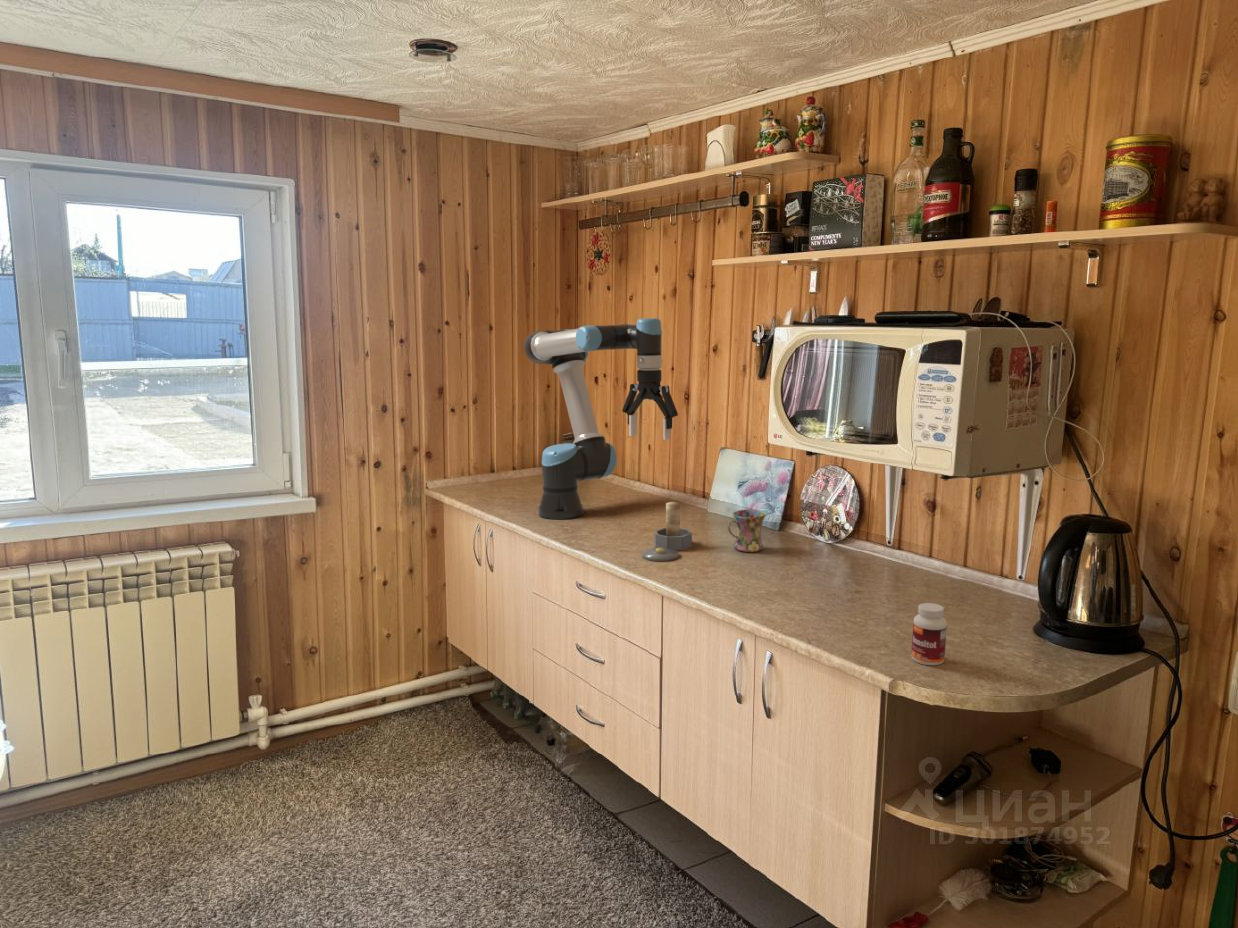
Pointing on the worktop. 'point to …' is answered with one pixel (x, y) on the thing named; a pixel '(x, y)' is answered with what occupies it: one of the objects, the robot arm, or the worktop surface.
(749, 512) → the mug
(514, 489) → the worktop surface
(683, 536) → the candle jar
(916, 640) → the pill bottle
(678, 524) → the dowel
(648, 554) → the jar lid
